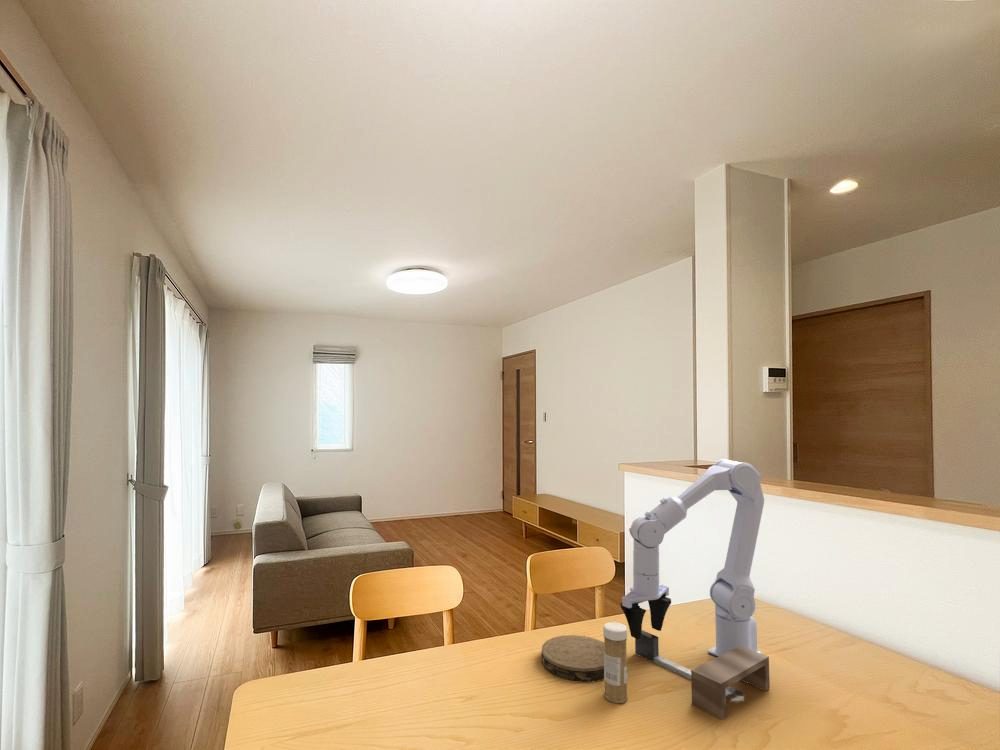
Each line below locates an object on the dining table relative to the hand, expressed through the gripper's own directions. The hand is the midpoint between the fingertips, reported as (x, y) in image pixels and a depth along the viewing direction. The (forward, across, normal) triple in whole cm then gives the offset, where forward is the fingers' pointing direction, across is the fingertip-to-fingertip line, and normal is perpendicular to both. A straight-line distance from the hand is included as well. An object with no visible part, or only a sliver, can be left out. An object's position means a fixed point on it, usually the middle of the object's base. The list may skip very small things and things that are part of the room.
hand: (646, 633), depth 117 cm
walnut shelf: (+5, 0, +20) cm, 21 cm away
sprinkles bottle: (+5, +19, +7) cm, 21 cm away
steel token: (+5, 0, +20) cm, 21 cm away
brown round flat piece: (+6, +15, -7) cm, 17 cm away
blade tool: (+5, 0, +6) cm, 8 cm away
